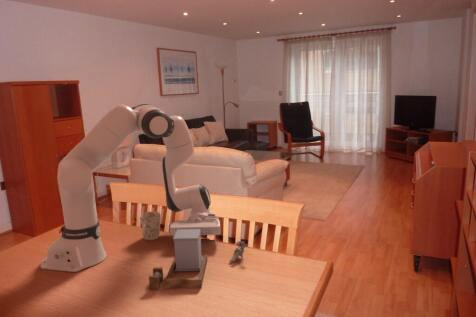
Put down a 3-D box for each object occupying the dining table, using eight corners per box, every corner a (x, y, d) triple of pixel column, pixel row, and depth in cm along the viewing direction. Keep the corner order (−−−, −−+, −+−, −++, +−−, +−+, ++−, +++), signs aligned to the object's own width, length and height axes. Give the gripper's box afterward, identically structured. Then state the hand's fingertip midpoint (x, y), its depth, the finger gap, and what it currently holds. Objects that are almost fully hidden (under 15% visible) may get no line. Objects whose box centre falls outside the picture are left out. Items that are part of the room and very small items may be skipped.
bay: (149, 289, 113) (148, 277, 112) (163, 260, 131) (162, 249, 130) (201, 289, 112) (200, 276, 111) (207, 259, 130) (206, 248, 129)
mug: (164, 233, 154) (162, 211, 152) (155, 246, 142) (153, 223, 140) (145, 232, 155) (144, 211, 153) (135, 246, 143) (132, 222, 141)
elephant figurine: (219, 260, 131) (232, 242, 137) (231, 271, 131) (243, 253, 137) (232, 251, 123) (245, 234, 130) (245, 263, 124) (256, 245, 130)
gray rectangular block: (175, 271, 123) (173, 238, 120) (179, 260, 130) (177, 229, 127) (199, 271, 122) (198, 238, 120) (202, 260, 130) (200, 229, 127)
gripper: (172, 215, 148) (165, 229, 135) (221, 214, 147) (218, 228, 134) (173, 229, 149) (166, 244, 136) (221, 228, 149) (219, 243, 135)
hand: (192, 236), depth 135 cm, fingers closed
